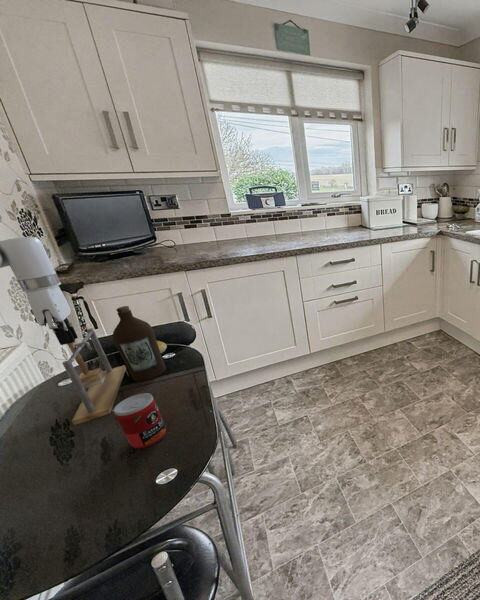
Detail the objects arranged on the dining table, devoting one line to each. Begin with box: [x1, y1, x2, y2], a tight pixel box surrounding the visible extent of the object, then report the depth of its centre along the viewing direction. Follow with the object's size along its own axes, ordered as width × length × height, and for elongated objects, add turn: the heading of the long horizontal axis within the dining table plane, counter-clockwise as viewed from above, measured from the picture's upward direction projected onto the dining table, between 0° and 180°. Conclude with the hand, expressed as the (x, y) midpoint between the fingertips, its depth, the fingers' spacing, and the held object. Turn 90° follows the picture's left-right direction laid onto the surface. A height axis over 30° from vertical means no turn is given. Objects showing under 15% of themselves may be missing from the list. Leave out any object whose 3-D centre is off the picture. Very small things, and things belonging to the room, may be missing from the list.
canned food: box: [113, 392, 167, 450], centre depth 81 cm, size 8×8×11 cm
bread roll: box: [157, 340, 168, 354], centre depth 128 cm, size 8×9×4 cm
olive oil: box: [112, 305, 167, 383], centre depth 109 cm, size 11×11×25 cm
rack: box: [62, 327, 127, 426], centre depth 101 cm, size 8×30×18 cm, turn 32°
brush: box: [67, 340, 105, 390], centre depth 99 cm, size 6×4×20 cm
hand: (69, 341), depth 97 cm, fingers closed
